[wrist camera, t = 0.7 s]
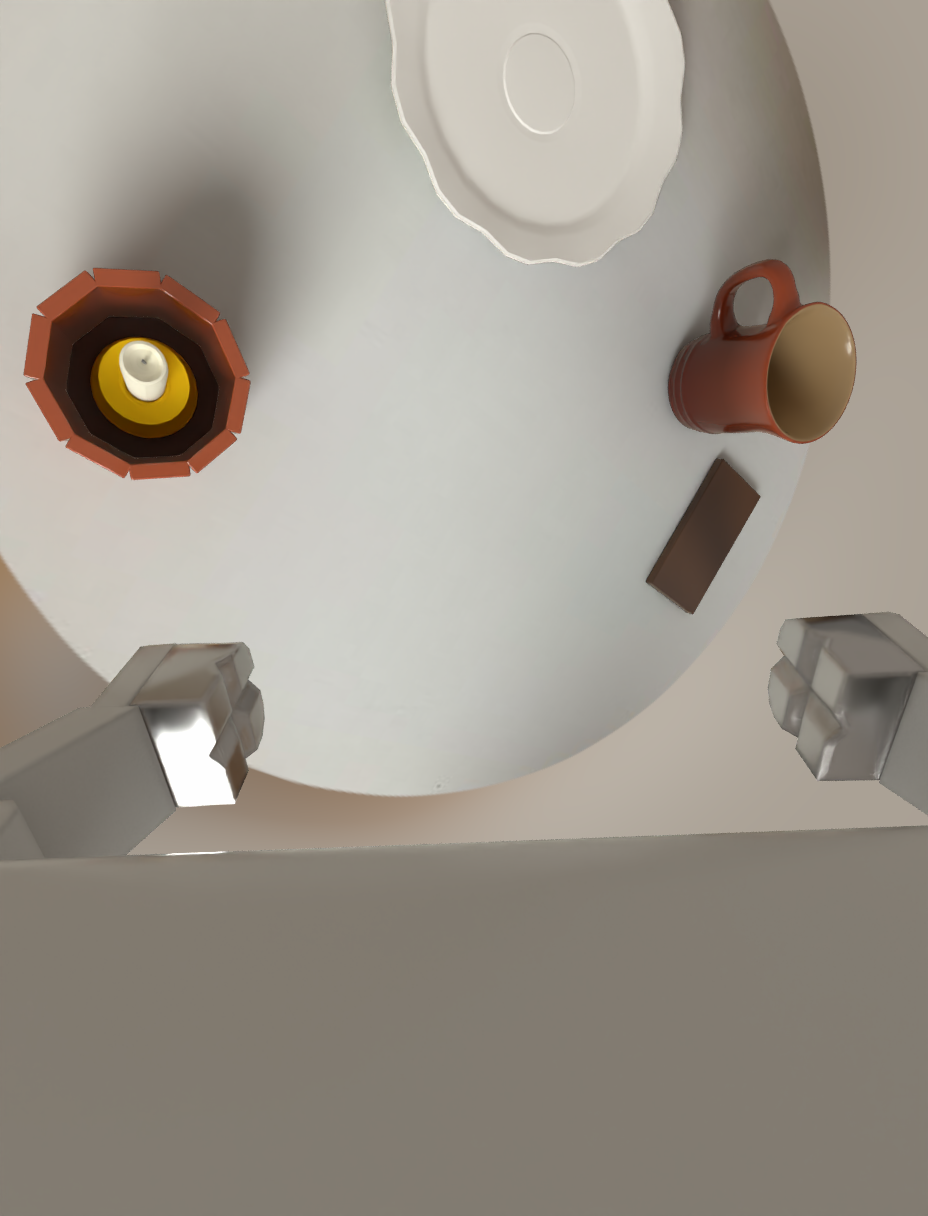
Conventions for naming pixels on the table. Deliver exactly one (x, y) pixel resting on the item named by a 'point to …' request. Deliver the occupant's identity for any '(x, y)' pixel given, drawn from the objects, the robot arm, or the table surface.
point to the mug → (766, 365)
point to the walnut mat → (704, 537)
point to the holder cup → (132, 297)
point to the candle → (144, 387)
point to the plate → (542, 115)
